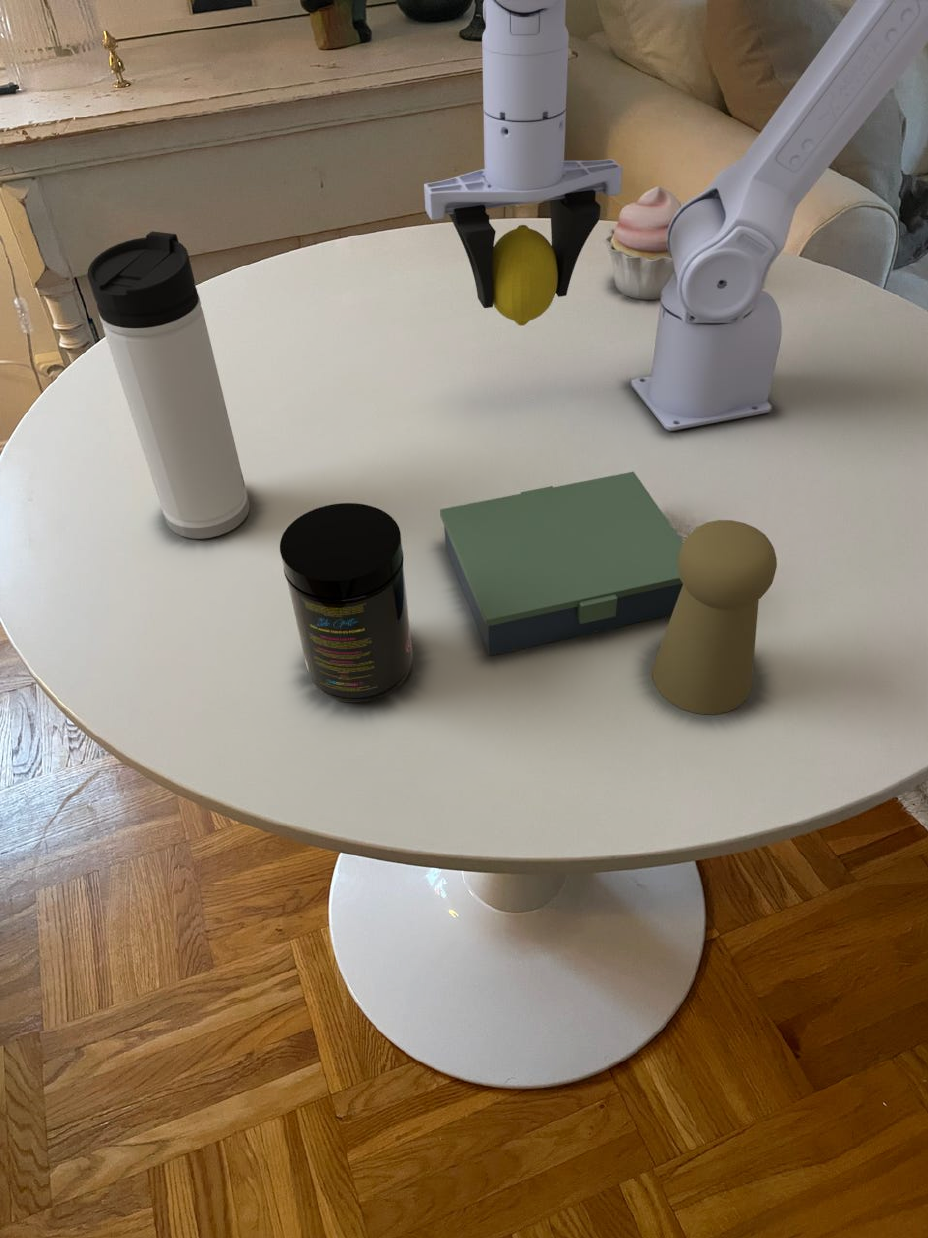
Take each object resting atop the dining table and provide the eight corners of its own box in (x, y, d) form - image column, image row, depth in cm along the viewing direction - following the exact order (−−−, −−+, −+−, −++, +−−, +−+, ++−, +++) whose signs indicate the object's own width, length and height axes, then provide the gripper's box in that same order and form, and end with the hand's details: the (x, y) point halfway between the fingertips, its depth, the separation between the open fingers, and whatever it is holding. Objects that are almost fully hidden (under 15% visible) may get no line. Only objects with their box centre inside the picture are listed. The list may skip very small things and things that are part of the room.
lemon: (550, 343, 73) (553, 242, 68) (481, 338, 74) (479, 238, 68) (560, 311, 77) (564, 212, 71) (494, 306, 78) (493, 209, 72)
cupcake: (598, 307, 92) (606, 203, 85) (601, 266, 99) (609, 167, 92) (695, 310, 91) (710, 205, 84) (691, 268, 98) (706, 168, 90)
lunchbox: (627, 506, 69) (631, 467, 67) (699, 615, 61) (707, 576, 59) (440, 544, 67) (438, 505, 65) (488, 663, 59) (488, 624, 56)
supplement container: (424, 695, 57) (412, 567, 50) (315, 718, 56) (286, 591, 49) (402, 620, 62) (388, 493, 54) (301, 640, 61) (273, 514, 53)
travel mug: (267, 494, 72) (209, 235, 58) (224, 547, 68) (150, 281, 53) (196, 480, 73) (123, 225, 59) (150, 531, 69) (60, 269, 55)
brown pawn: (642, 645, 59) (662, 508, 52) (735, 637, 59) (769, 499, 52) (664, 718, 55) (690, 581, 47) (765, 710, 55) (807, 571, 47)
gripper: (602, 81, 68) (591, 262, 78) (410, 104, 66) (422, 288, 75) (639, 109, 63) (622, 299, 73) (433, 135, 61) (443, 327, 71)
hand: (522, 296), depth 74 cm, fingers closed on lemon, 5 cm apart
